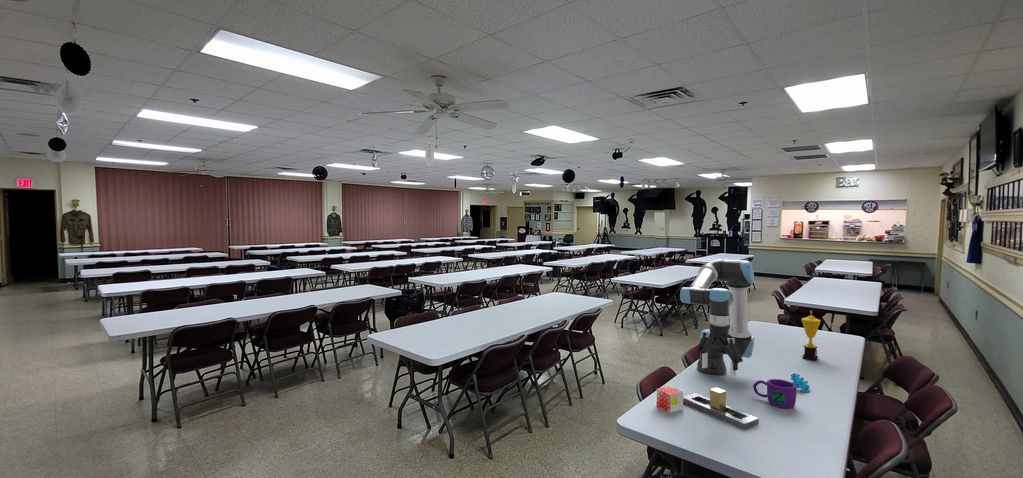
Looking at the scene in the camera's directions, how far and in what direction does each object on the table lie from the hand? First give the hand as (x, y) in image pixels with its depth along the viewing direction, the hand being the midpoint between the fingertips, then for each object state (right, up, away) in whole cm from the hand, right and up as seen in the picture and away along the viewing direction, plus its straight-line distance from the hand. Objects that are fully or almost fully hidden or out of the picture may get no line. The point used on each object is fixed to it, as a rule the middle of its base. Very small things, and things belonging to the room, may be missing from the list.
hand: (718, 372), depth 184 cm
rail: (0, -18, 0) cm, 18 cm away
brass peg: (0, -18, 0) cm, 18 cm away
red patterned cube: (-19, -18, +6) cm, 27 cm away
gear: (+54, -17, +26) cm, 62 cm away
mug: (+31, -18, +11) cm, 37 cm away
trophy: (+93, -15, +75) cm, 121 cm away
